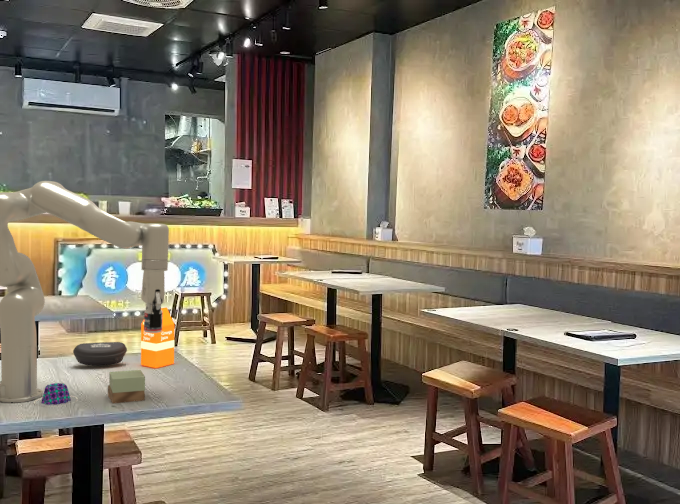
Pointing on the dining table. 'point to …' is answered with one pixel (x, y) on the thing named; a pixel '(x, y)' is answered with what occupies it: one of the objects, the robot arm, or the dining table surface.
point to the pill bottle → (147, 321)
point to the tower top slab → (127, 381)
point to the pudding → (55, 395)
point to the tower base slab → (125, 396)
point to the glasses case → (100, 353)
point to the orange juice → (158, 344)
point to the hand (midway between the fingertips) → (152, 324)
